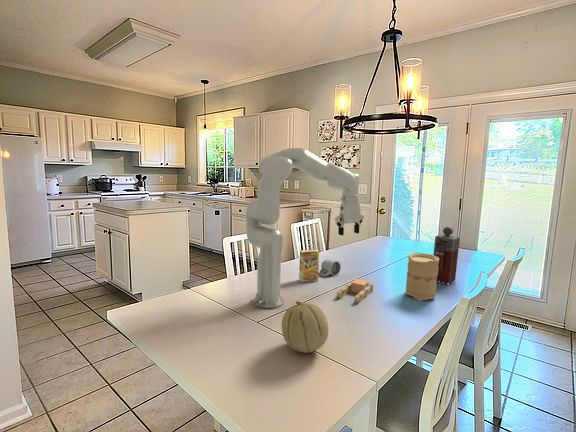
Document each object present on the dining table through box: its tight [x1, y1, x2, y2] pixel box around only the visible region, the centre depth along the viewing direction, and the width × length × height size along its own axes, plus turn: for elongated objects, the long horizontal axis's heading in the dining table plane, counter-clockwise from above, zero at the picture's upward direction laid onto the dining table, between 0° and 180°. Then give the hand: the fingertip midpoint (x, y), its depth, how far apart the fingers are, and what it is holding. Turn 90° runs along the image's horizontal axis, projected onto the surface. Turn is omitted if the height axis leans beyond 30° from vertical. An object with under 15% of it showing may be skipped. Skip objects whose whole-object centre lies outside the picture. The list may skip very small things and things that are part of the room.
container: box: [405, 252, 439, 301], centre depth 146 cm, size 13×13×18 cm
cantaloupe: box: [281, 300, 330, 354], centre depth 101 cm, size 15×15×15 cm
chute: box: [336, 279, 374, 305], centre depth 146 cm, size 18×10×3 cm, turn 146°
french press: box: [433, 226, 461, 285], centre depth 165 cm, size 9×11×28 cm
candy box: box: [298, 249, 320, 283], centre depth 162 cm, size 9×4×15 cm, turn 107°
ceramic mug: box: [319, 259, 342, 277], centre depth 173 cm, size 11×8×8 cm
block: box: [350, 278, 370, 294], centre depth 150 cm, size 6×6×4 cm
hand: (348, 234), depth 160 cm, fingers open, 9 cm apart
